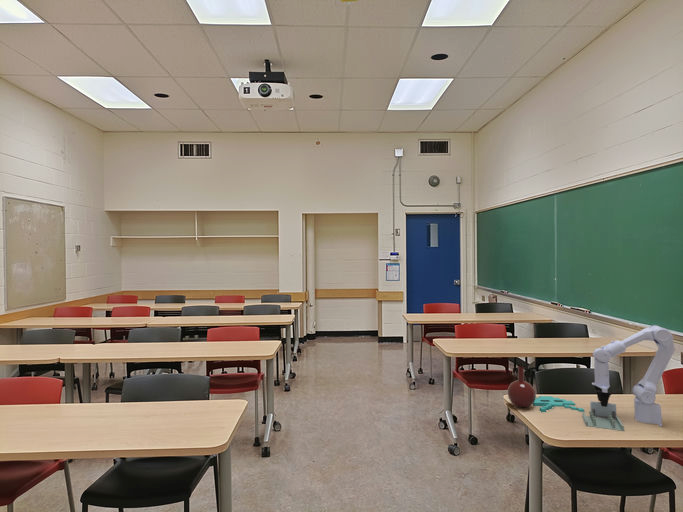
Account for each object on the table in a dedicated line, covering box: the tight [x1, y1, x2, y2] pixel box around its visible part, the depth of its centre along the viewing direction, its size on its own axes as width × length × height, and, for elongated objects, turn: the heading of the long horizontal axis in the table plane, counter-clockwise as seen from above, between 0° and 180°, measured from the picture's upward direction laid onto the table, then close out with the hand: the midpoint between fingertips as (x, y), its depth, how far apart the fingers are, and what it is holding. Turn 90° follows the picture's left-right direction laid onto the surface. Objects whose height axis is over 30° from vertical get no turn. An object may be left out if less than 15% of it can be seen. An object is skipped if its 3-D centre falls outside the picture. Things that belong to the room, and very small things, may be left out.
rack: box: [581, 410, 625, 432], centre depth 175 cm, size 14×13×4 cm
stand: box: [588, 409, 617, 420], centre depth 184 cm, size 11×6×4 cm, turn 65°
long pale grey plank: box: [589, 400, 617, 417], centre depth 184 cm, size 10×1×6 cm, turn 65°
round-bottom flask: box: [507, 366, 537, 409], centre depth 200 cm, size 13×13×20 cm
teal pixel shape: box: [532, 395, 585, 413], centre depth 200 cm, size 20×2×20 cm
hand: (602, 403), depth 184 cm, fingers open, 7 cm apart
